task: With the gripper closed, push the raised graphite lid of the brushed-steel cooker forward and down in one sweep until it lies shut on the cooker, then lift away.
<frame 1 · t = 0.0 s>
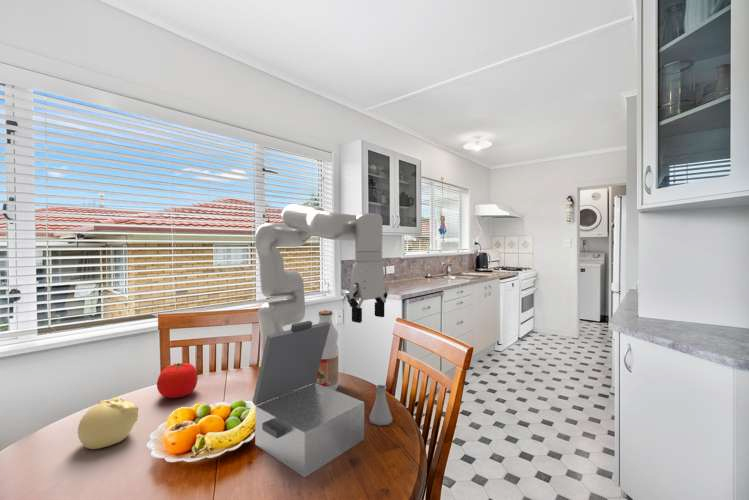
hand: (368, 319, 96), 31 cm above the table, tool pointing down, fingers open, 9 cm apart
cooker: (310, 441, 90), on the table
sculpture: (108, 442, 90), on the table
fruit juice: (325, 388, 125), on the table
flask: (381, 420, 102), on the table
tomato: (178, 396, 118), on the table
lid: (292, 356, 95), point 21 cm above the table, hinge at 70.0°
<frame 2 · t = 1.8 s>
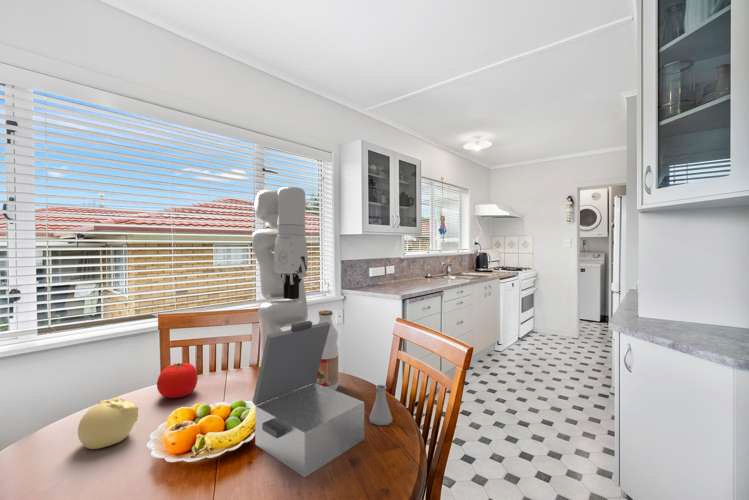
hand: (291, 298, 95), 37 cm above the table, tool pointing down, fingers closed
nothing on the table moved.
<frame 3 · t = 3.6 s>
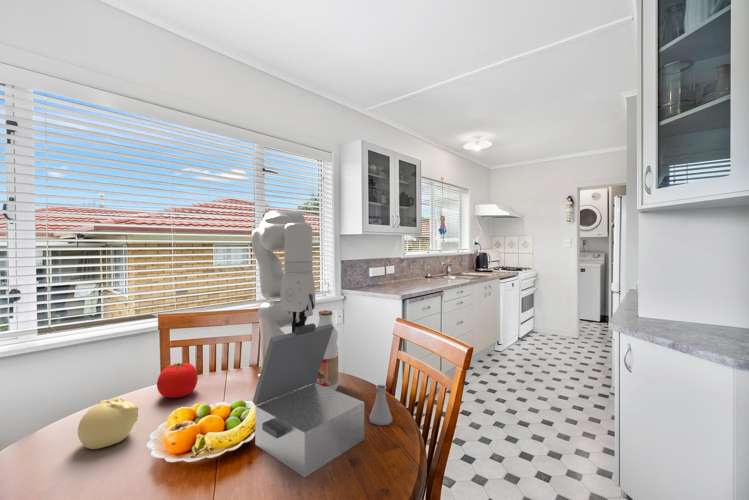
hand: (298, 335, 93), 27 cm above the table, tool pointing down, fingers closed
lid: (293, 357, 95), point 21 cm above the table, hinge at 65.8°, touching gripper
everything else where it was.
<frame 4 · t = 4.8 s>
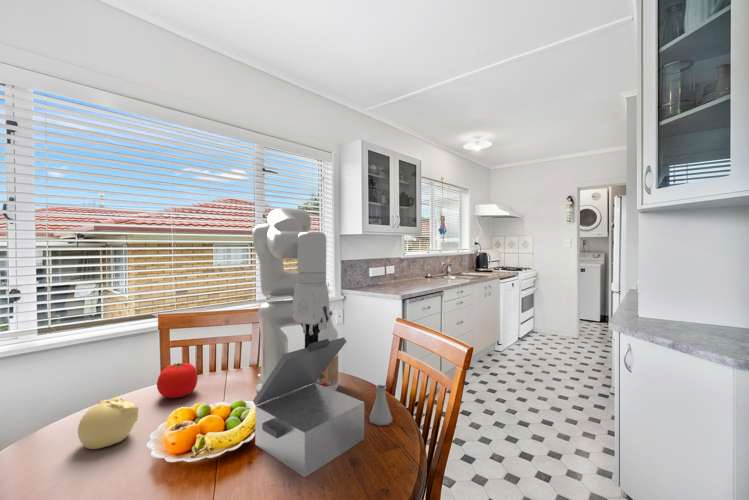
hand: (311, 348, 90), 25 cm above the table, tool pointing down, fingers closed
lid: (300, 365, 93), point 19 cm above the table, hinge at 48.1°, touching gripper
everything else where it was.
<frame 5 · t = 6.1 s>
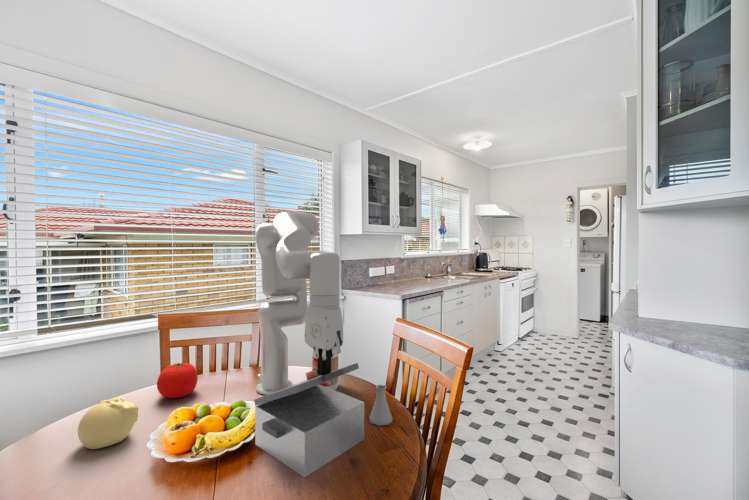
hand: (324, 373, 87), 19 cm above the table, tool pointing down, fingers closed
lid: (308, 379, 91), point 16 cm above the table, hinge at 25.1°, touching gripper
everything else where it was.
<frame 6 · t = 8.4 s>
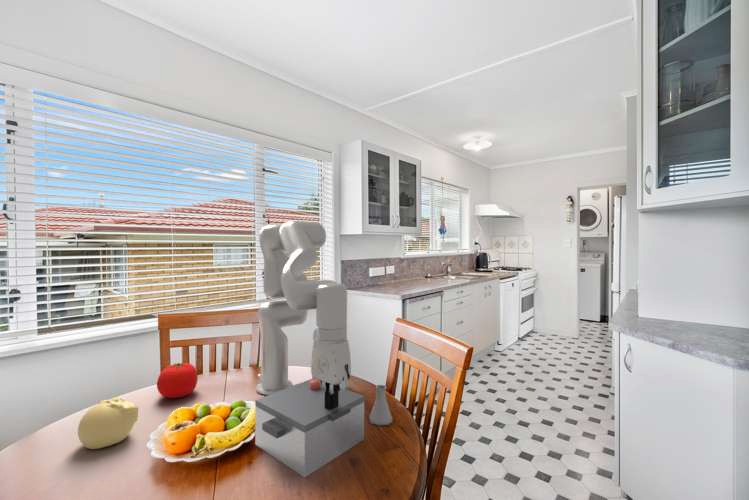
hand: (331, 407, 85), 12 cm above the table, tool pointing down, fingers closed
lid: (312, 397, 90), point 12 cm above the table, hinge at -0.1°, touching gripper
everything else where it was.
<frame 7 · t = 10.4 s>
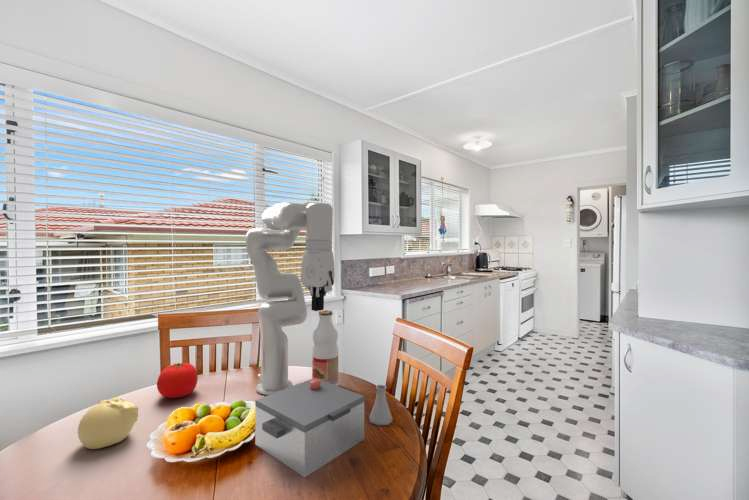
hand: (317, 309, 99), 33 cm above the table, tool pointing down, fingers closed
lid: (312, 397, 90), point 12 cm above the table, hinge at -0.1°
everything else where it was.
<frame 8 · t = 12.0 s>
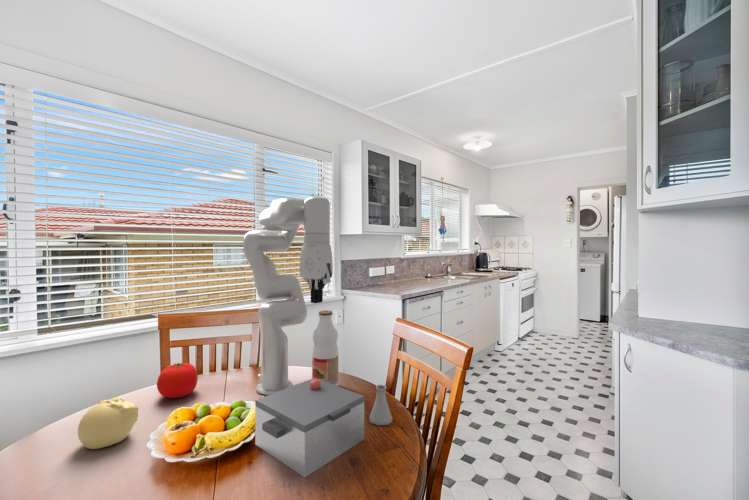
hand: (316, 302, 101), 35 cm above the table, tool pointing down, fingers closed
nothing on the table moved.
at the end: lid at +0° (first picture: +70°) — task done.
